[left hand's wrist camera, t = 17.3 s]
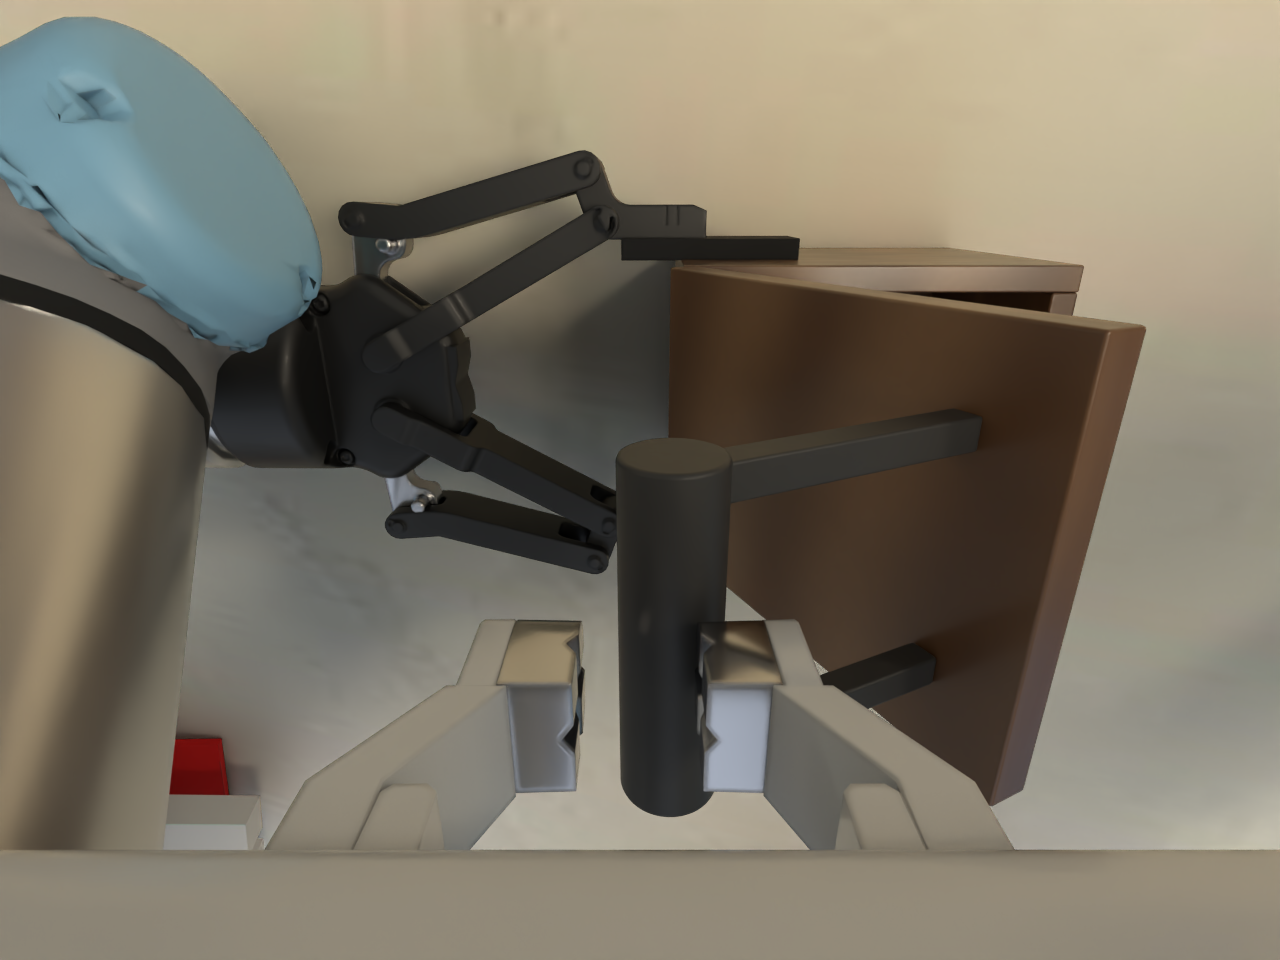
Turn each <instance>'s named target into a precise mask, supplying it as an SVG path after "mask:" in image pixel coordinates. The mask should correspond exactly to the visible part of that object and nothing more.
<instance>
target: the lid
mask: <svg viewBox="0 0 1280 960" xmlns="http://www.w3.org/2000/svg"><path fill="white" fill-rule="evenodd" d="M1145 332H1146V327H1144V326H1143V325H1138V324H1130V323H1123V322H1115V321H1108V320H1100V319H1092V318H1085V317H1077V316H1070V315H1062V314H1055V313H1047V312H1039V311H1032V310H1024V309H1017V308H1009V307H1001V306H994V305H986V304H979V303H971V302H964V301H956V300H948V299H941V298H933V297H926V296H918V295H910V294H903V293H895V292H888V291H880V290H873V289H865V288H857V287H850V286H842V285H835V284H827V283H819V282H812V281H804V280H797V279H789V278H782V277H774V276H766V275H759V274H751V273H744V272H736V271H728V270H721V269H713V268H706V267H698V266H693V267H673V268H671V286H670V356H669V427H668V438H658V439H650V440H644V441H640V442H636V443H633V444H630V445H628V446H626V447H624V448H623V449H621V450H620V451H619V453H618V455H617V457H616V511H617V574H618V637H619V701H620V764H621V784H622V787H623V790H624V792H625V793H626V795H627V796H628V798H629V799H630V800H631V802H632V803H633V804H635V805H636V806H637V807H638V808H640V809H642V810H643V811H645V812H648V813H650V814H653V815H657V816H663V817H678V816H683V815H687V814H690V813H693V812H695V811H697V810H698V809H700V808H701V807H702V806H704V805H705V804H706V803H707V802H708V800H709V799H710V798H711V796H712V794H713V793H714V791H704V790H703V782H702V774H701V765H700V757H699V750H700V735H699V734H698V733H697V729H696V718H695V669H696V668H697V667H698V660H697V652H696V630H697V622H720V621H725V604H726V587H728V588H729V589H730V590H731V591H732V592H733V593H735V594H736V595H737V596H738V597H739V598H741V599H742V600H743V601H744V602H745V603H747V604H748V605H749V606H750V607H751V608H753V609H754V610H755V611H756V612H757V613H759V614H760V615H761V616H762V617H763V618H765V619H766V620H781V619H795V620H796V621H798V622H799V625H800V627H801V630H802V632H803V635H804V637H805V640H806V642H807V645H808V647H809V650H810V652H811V655H812V657H813V659H814V660H815V661H816V662H817V663H819V664H820V665H821V666H822V667H823V668H825V669H826V670H827V671H828V673H825V674H822V675H820V678H821V680H822V683H823V685H829V686H835V687H836V688H838V689H839V690H840V691H842V692H843V693H845V694H846V695H848V696H849V697H851V698H852V699H854V700H855V701H857V702H858V703H860V704H861V705H863V706H864V707H866V708H867V709H869V708H872V709H874V710H875V711H876V712H877V713H878V714H880V715H881V716H882V717H883V718H884V719H886V720H887V721H888V722H889V723H890V724H892V725H893V726H894V727H895V728H896V729H898V730H899V731H901V732H902V733H904V734H905V735H907V736H908V737H910V738H911V739H913V740H914V741H916V742H917V743H919V744H920V745H922V746H923V747H924V748H926V749H927V750H929V751H930V752H932V753H933V754H935V755H936V756H938V757H939V758H941V759H942V760H944V761H945V762H947V763H948V764H950V765H951V766H952V767H954V768H955V769H957V770H958V771H960V772H961V773H963V774H964V775H966V776H967V777H969V778H970V779H972V780H973V781H975V783H976V784H977V786H978V788H979V790H980V791H981V793H982V795H983V796H984V798H985V800H986V802H987V803H988V805H989V806H994V805H995V804H997V803H999V802H1001V801H1003V800H1005V799H1007V798H1009V797H1011V796H1012V795H1014V794H1016V793H1018V792H1020V791H1022V790H1023V788H1024V784H1025V781H1026V777H1027V773H1028V769H1029V766H1030V762H1031V758H1032V754H1033V751H1034V747H1035V743H1036V739H1037V736H1038V732H1039V728H1040V724H1041V721H1042V717H1043V713H1044V710H1045V706H1046V702H1047V698H1048V695H1049V691H1050V687H1051V683H1052V680H1053V676H1054V672H1055V668H1056V665H1057V661H1058V657H1059V654H1060V650H1061V646H1062V642H1063V639H1064V635H1065V631H1066V627H1067V624H1068V620H1069V616H1070V612H1071V609H1072V605H1073V601H1074V597H1075V594H1076V590H1077V586H1078V583H1079V579H1080V575H1081V571H1082V568H1083V564H1084V560H1085V556H1086V553H1087V549H1088V545H1089V541H1090V538H1091V534H1092V530H1093V526H1094V523H1095V519H1096V515H1097V512H1098V508H1099V504H1100V500H1101V497H1102V493H1103V489H1104V485H1105V482H1106V478H1107V474H1108V470H1109V467H1110V463H1111V459H1112V456H1113V452H1114V448H1115V444H1116V441H1117V437H1118V433H1119V429H1120V426H1121V422H1122V418H1123V414H1124V411H1125V407H1126V403H1127V399H1128V396H1129V392H1130V388H1131V385H1132V381H1133V377H1134V373H1135V370H1136V366H1137V362H1138V358H1139V355H1140V351H1141V347H1142V343H1143V340H1144V336H1145Z"/></svg>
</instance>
